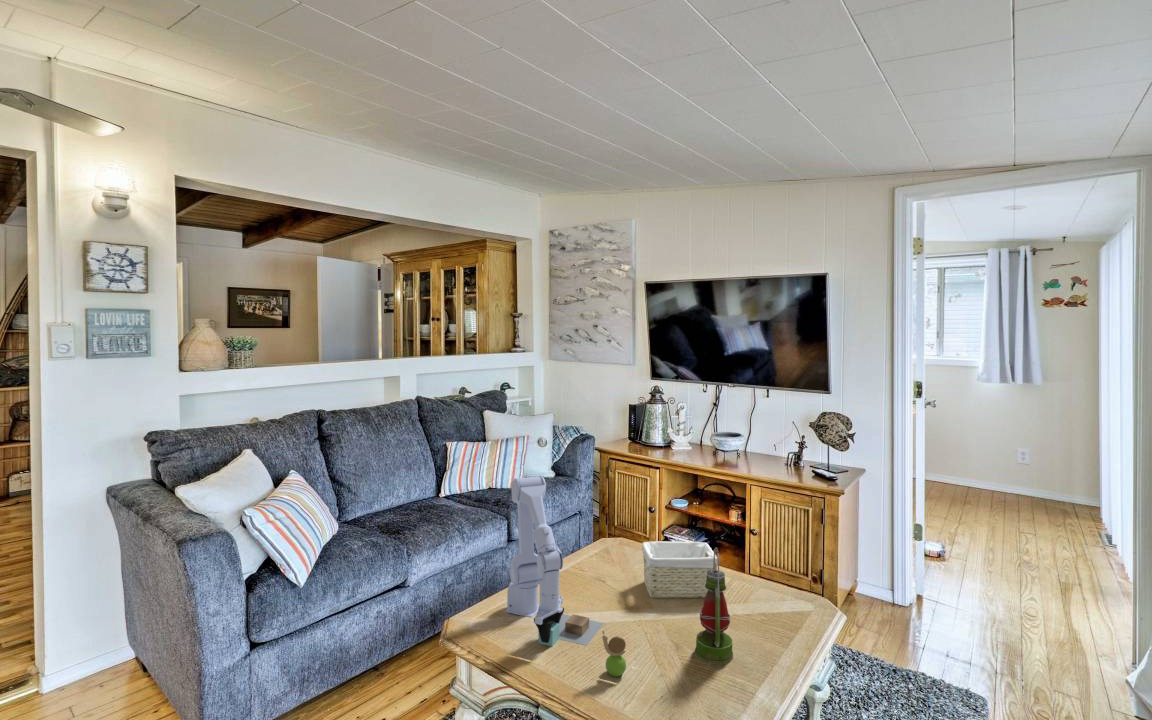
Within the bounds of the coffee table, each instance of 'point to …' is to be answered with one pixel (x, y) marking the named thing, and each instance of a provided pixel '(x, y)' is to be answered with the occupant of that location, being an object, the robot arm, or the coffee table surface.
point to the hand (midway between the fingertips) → (549, 637)
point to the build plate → (578, 639)
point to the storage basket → (677, 568)
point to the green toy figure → (615, 655)
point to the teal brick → (552, 635)
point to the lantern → (714, 621)
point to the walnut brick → (577, 625)
